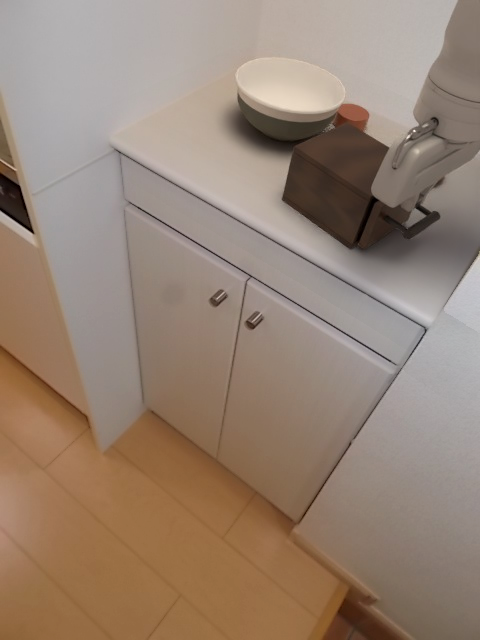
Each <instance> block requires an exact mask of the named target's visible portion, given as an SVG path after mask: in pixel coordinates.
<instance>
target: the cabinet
mask: <svg viewBox="0 0 480 640" xmlns="http://www.w3.org/2000/svg"><path fill="white" fill-rule="evenodd" d="M389 148H390V146H388V145H386V144H385V143H383V142H382V141H379V140H378V139H376V138H375V137H373V136H371V135H369V134H368V133H366V132H365V131H364V132H363V131H361V130H359V129H358V128H356V127H354V126H353V125H351V124H349V123H348V122H347V123H345V124H343V125H340V126H338V127H334V128H332V129H329V130H327V131H325V132H323V133H322V132H321V133H319V134H317V135H315V136H312V137H310V138H309V139H307V140H305V141H302V142H300V143H298V144H296V145H294V146H293V148H292V154H291V158H290V162H289V166H288V170H287V175H286V179H285V184H284V188H283V193H282V197H281V200H282V202H285V203H286V204H287V205H288V206H290V207H291V208H292V209H294V210H296V211H297V212H298V213H299V214H301V215H303V217H305V218H306V219H308V220H310V221H311V222H312V223H313V224H315V225H316V226H318V227H319V228H320V229H322V230H323V231H324V232H326V233H327V234H328V235H330V236H332V237H333V238H334V239H335V240H337V241H338V242H340V243H341V244H342V245H344V246H345V247H347V248H348V249H350V250H351V249H353V248H355V247H356V246H359V245H358V244H359V241H360V239H361V236H362V234H363V231H364V230H363V231H361V232H360V230H361V227H362V225H363V222H364V220H365V217H366V214H367V212H368V209H369V207H370V204H371V202H372V199H374V198H375V197H374V196H373V195H372V191H371V187H372V184H373V182H374V179H375V177H376V175H377V173H378V170H379V168H380V166H381V164H382V162H383V160H384V158H385V156H386V154H387V152H388V150H389ZM359 232H360V233H359Z"/></svg>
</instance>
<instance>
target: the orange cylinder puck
mask: <svg viewBox="0 0 480 640" xmlns="http://www.w3.org/2000/svg"><path fill="white" fill-rule="evenodd" d="M370 117H371V116H370V112H369V111H368V109H366V108H365V107H363V106H361V105H359V104H355V103H343V104H342V105H341V106H340V107H339V109H338V111H337V113H336V115H335V118H334V120H333V121H332V122H333V125H334V128H336V127H338V126H340V125H343V124H345V123H347V122H348V123H349V124H351V125H353V126H354V127H356V128H358V129H359V130H361V131H363V132H364V133H365V130H366V128H367V125H368V122H369V119H370Z"/></svg>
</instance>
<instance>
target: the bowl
mask: <svg viewBox="0 0 480 640" xmlns="http://www.w3.org/2000/svg"><path fill="white" fill-rule="evenodd" d="M234 81H235V84H236V89H237V94H236V95H237V96H236V97H237V103H238V106H239V109H240V111H241V113H242V116H243V117H244V118H245V119H246V120H247V121H248V123H250V124H251V126H253V127H254V128H255V129H257V130H258V131H260V132H261V133H262V134H263V135H264V136H266V137H268V138H270V139H272V140H275V141H279V142H295V141H299V140H303V139H307V138H312V137H314V136H317V135H319V134H321V133H322V132H324V131H325V130H326V128H328V127H329V126H330V124H332V122H333V121H334V118H335V115H336V113H337V111H338V109H339V107H340V106H341V105H342V104H345V101H346V99H347V92H346V88H345V86H344V84H343V83H342V82H341V80H340V79H339V78H338V77H337V76H336V75H334V74H333V73H331V72H330V71H328V70H327V69H324V68H323V67H320V66H318V65H316V64H313V63H311V62H306V61H303V60H300V59H294V58H290V57H289V58H288V57H280V56H278V57H272V56H270V57H269V56H268V57H259V58H254V59H252V60H249V61H246V62H245V63H243V64H242V65H240V66H239V67H238V68H237V70H236V71H235V75H234Z"/></svg>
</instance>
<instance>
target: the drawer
mask: <svg viewBox="0 0 480 640" xmlns="http://www.w3.org/2000/svg"><path fill="white" fill-rule="evenodd" d="M414 210H416V211H419V212H420V213H421V214H423V215H424V217H422V218H421V219H420V220H418V221H416V222H415V223H413V224H412V225H411V226H409V227H406V226H405V225H404V224H405V223H406V222H408V221H409V219H410V216H411V215H412V212H413V210H412V211H410V212H408V211H406V210H404V209H403V208H401V206H400V204H399V205H398V206H396V207H394V208H392V207H389V206H388V205H386V204H384V203H383V202H381V201H380V200H378V199H377V198H374V199H372V202H371V204H370V207H369V209H368V212H367V214H366V217H365V220H364V222H363V225H362V227H361V230H360V232H361V231H363V230H364V231H363V234H362V236H361V239H360V241H359V244H358V245H357V246H359V247H360V248H362V249H363V250H366V249H367V248H369V247H370V246H372V245H373V244H375V243H377V242H378V241H380V240H381V239H383V238H385V236H387V235H389V234H390V233H392V232H393V231H394V230H398V231H399V232H400V233H402V236H403V239H405V240H407V241H411V240H412V239H413V238H415V237H417V236H418V235H420V233H422V232H423V231H425V230H426V229H428V228H429V227H430V226H432V225H434V224H435V223H436V222H437V221H439V220H440V219H441V214H440V212H439V211H437V210H432V211H431V210H429V209H428V208H426V207H425V206H423V205H422V204H421V205H419V206H418V207H416V208H415V209H414ZM360 232H359V233H360Z"/></svg>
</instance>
